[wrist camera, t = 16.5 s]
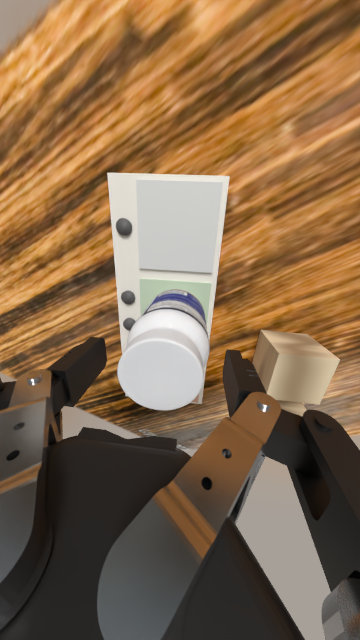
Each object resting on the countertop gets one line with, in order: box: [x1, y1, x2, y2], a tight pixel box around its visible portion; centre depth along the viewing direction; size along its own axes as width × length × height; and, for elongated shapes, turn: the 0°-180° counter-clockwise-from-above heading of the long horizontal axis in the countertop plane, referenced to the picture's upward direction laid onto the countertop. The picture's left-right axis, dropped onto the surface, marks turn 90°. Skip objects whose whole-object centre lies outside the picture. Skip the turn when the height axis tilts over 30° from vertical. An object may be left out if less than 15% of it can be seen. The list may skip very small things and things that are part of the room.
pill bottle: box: [117, 289, 209, 410], centre depth 14 cm, size 6×6×10 cm
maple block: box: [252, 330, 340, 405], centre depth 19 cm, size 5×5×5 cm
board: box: [107, 173, 230, 404], centre depth 20 cm, size 10×24×1 cm, turn 177°
